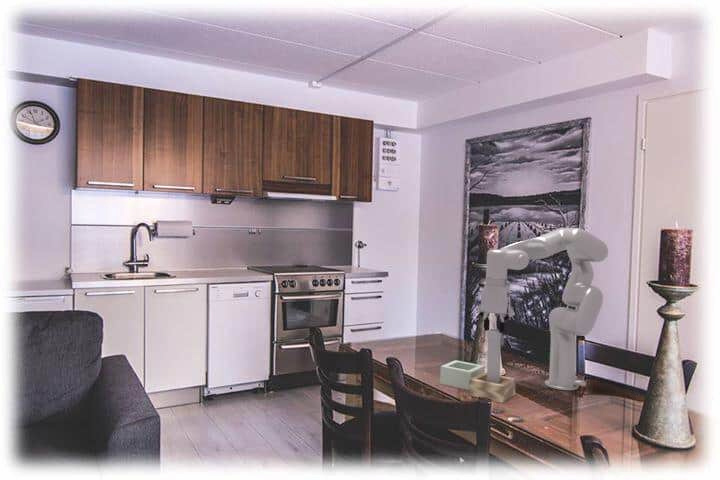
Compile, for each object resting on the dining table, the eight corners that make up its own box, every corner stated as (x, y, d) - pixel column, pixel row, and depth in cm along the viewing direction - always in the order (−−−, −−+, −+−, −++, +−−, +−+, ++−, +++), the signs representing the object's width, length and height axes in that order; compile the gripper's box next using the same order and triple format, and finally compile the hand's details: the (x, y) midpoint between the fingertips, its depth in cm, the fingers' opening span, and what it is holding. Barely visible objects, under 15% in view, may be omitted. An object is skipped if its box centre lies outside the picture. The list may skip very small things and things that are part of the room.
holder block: (484, 383, 214) (484, 365, 214) (470, 390, 203) (471, 372, 203) (454, 376, 222) (455, 360, 221) (440, 383, 211) (440, 366, 211)
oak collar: (515, 394, 200) (515, 378, 200) (502, 403, 190) (502, 386, 190) (482, 387, 208) (483, 372, 208) (468, 395, 197) (469, 379, 197)
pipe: (501, 397, 195) (502, 316, 195) (483, 396, 197) (485, 315, 196) (500, 393, 201) (501, 314, 200) (483, 391, 202) (484, 313, 202)
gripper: (522, 284, 196) (520, 333, 196) (478, 280, 206) (476, 326, 206) (514, 285, 190) (512, 336, 190) (470, 281, 200) (468, 329, 200)
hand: (494, 330), depth 198 cm, fingers closed on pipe, 5 cm apart
